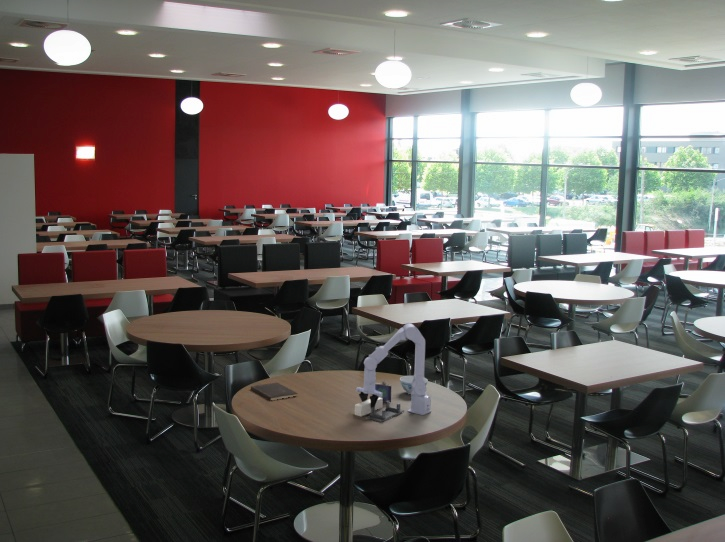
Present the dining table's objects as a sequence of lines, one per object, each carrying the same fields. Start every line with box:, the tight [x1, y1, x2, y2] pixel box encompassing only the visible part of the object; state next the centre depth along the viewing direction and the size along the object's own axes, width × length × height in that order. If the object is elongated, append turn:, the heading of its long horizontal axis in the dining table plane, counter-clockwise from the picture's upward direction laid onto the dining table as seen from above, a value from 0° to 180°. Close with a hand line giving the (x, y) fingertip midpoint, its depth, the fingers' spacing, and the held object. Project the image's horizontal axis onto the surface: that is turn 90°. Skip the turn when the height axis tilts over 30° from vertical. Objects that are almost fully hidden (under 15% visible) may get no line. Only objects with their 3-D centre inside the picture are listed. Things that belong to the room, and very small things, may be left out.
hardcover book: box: [250, 382, 299, 401], centre depth 386 cm, size 16×23×2 cm
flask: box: [375, 380, 392, 403], centre depth 378 cm, size 9×3×11 cm, turn 65°
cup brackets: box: [366, 401, 405, 423], centre depth 355 cm, size 8×20×5 cm, turn 145°
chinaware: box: [399, 375, 429, 395], centre depth 393 cm, size 15×15×8 cm
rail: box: [354, 397, 384, 417], centre depth 361 cm, size 4×18×5 cm, turn 144°
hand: (368, 408), depth 361 cm, fingers closed on rail, 4 cm apart
